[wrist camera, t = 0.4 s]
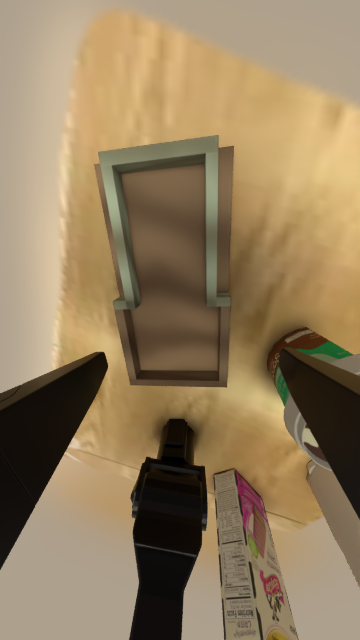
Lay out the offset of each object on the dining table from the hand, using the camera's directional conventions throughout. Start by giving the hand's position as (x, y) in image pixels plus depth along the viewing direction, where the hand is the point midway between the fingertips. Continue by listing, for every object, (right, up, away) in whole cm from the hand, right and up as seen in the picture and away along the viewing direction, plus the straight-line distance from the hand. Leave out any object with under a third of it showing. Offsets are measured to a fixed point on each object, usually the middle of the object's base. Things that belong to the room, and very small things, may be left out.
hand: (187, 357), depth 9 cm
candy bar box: (+11, -31, +26) cm, 42 cm away
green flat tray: (-1, +6, +12) cm, 14 cm away
